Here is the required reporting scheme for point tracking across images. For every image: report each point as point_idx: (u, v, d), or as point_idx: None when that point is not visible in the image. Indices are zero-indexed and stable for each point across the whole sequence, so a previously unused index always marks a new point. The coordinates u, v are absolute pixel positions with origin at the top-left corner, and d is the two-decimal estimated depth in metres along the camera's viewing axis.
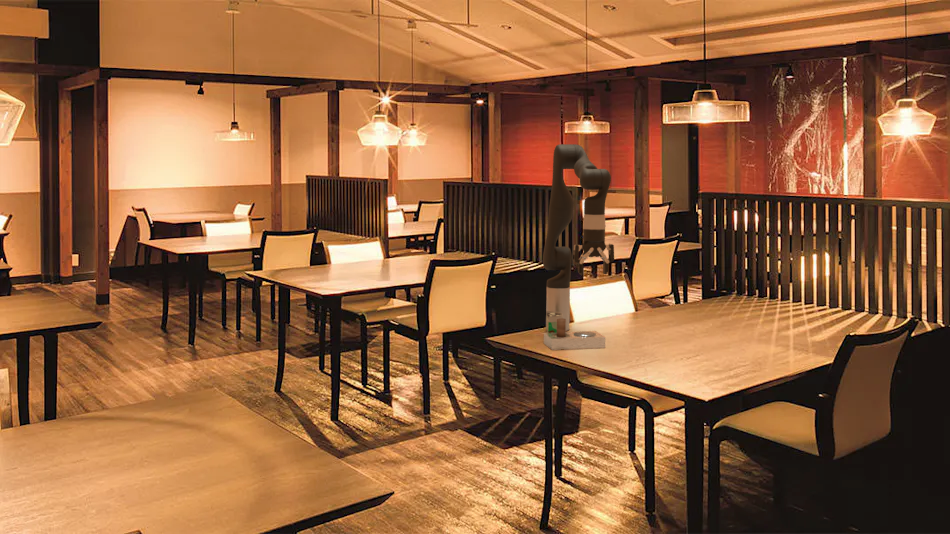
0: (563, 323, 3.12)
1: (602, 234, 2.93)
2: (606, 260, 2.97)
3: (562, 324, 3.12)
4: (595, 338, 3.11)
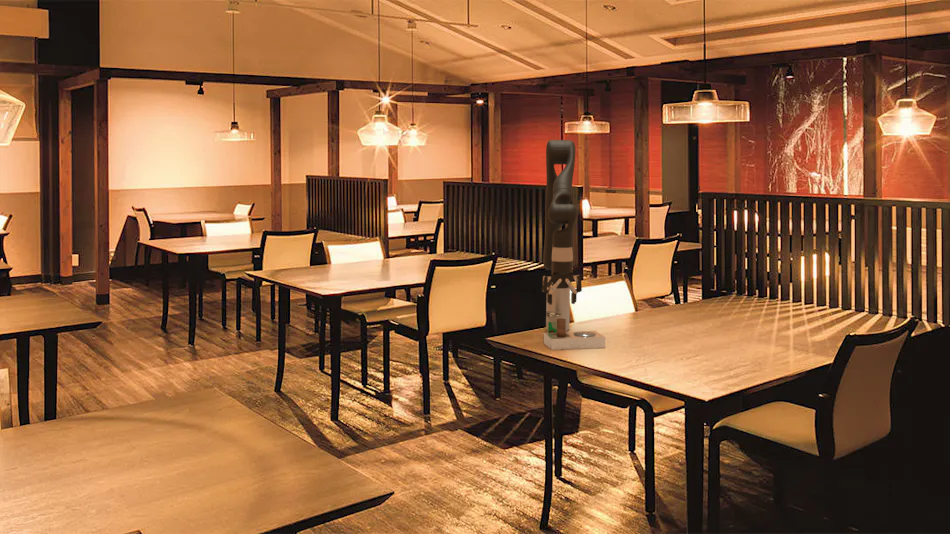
0: (563, 323, 3.12)
1: (570, 266, 3.08)
2: (574, 290, 3.12)
3: (562, 324, 3.12)
4: (595, 338, 3.11)
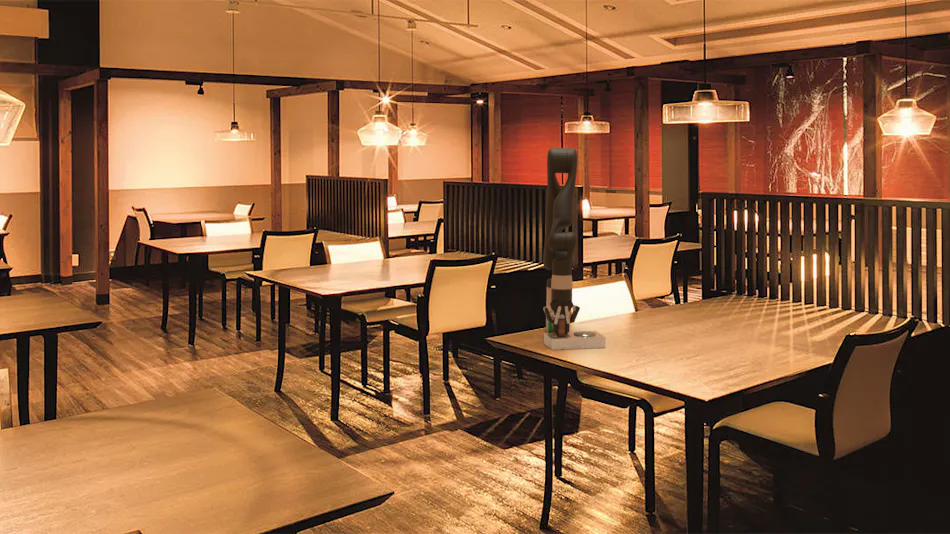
0: (563, 323, 3.12)
1: (569, 293, 3.10)
2: (567, 321, 3.13)
3: (562, 324, 3.12)
4: (595, 338, 3.11)
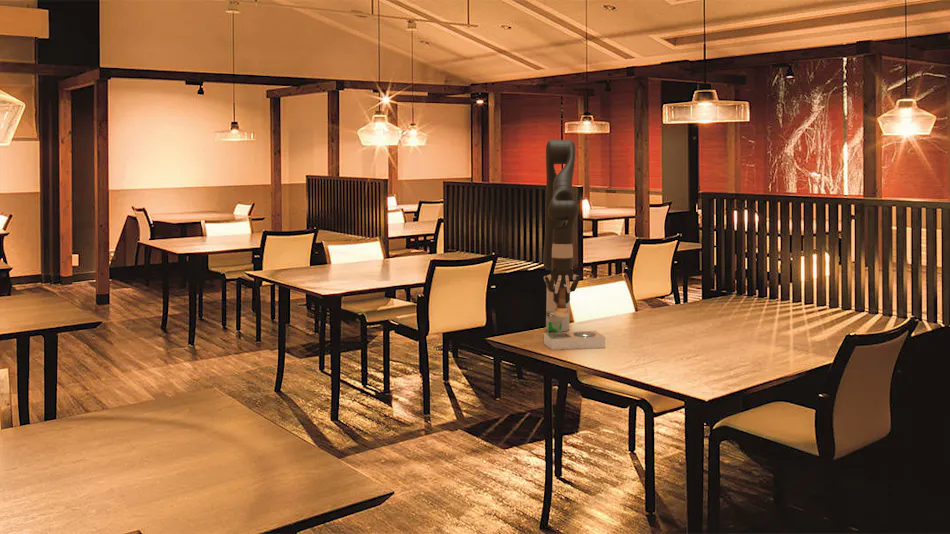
0: (563, 292, 3.11)
1: (570, 262, 3.08)
2: (567, 290, 3.11)
3: (562, 293, 3.11)
4: (595, 338, 3.11)
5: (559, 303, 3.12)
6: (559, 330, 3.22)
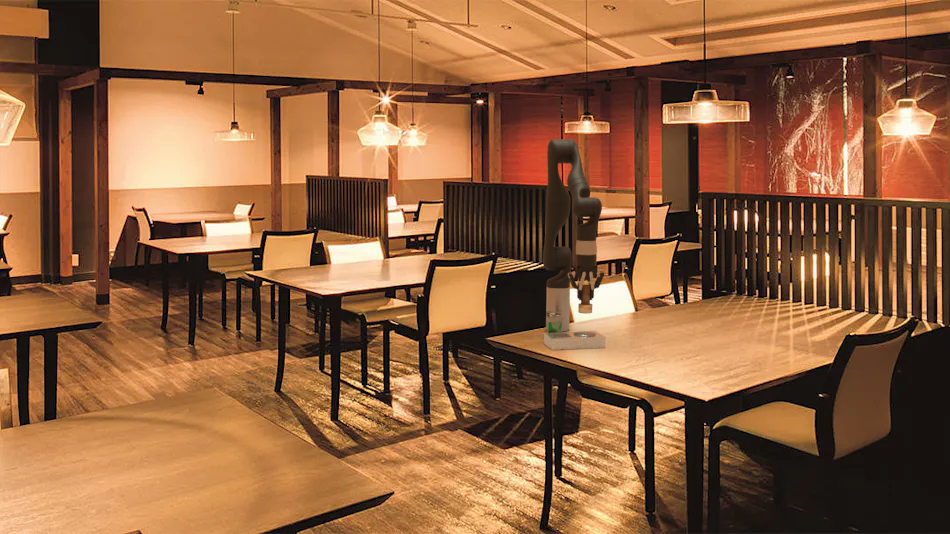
0: (588, 289, 3.12)
1: (594, 259, 3.10)
2: (591, 287, 3.13)
3: (587, 290, 3.12)
4: (595, 338, 3.11)
5: (583, 300, 3.13)
6: (559, 330, 3.22)
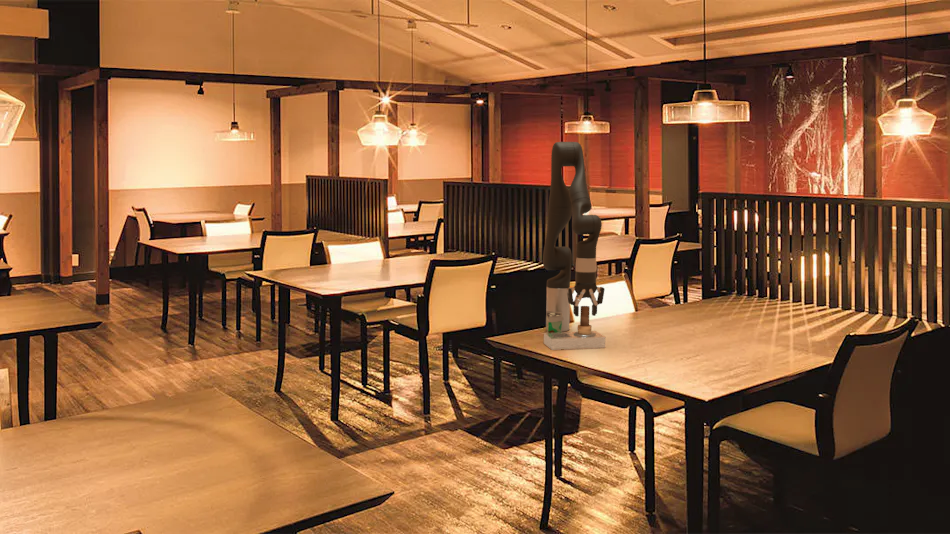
0: (587, 310, 3.13)
1: (594, 276, 3.10)
2: (595, 302, 3.14)
3: (586, 311, 3.13)
4: (595, 338, 3.11)
5: (582, 321, 3.14)
6: (559, 330, 3.22)
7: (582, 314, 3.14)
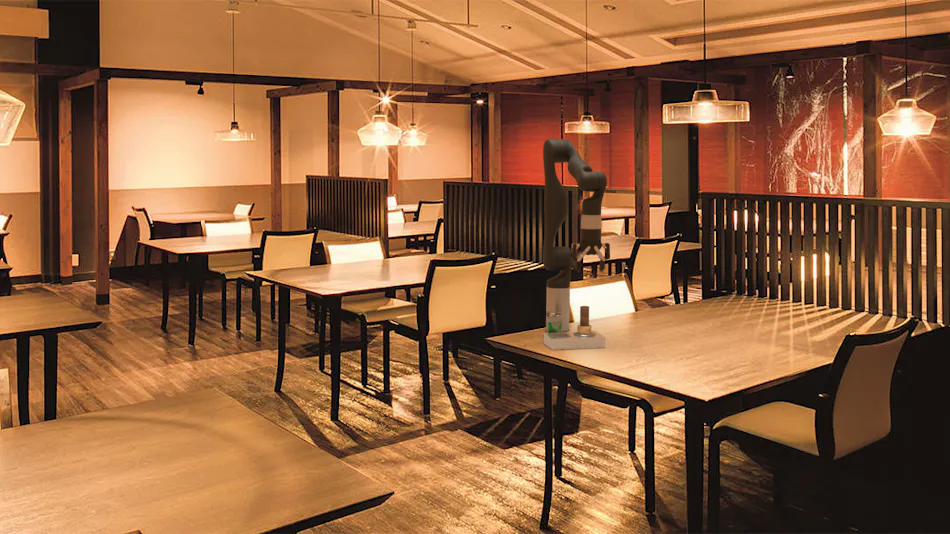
0: (587, 310, 3.13)
1: (599, 233, 3.10)
2: (602, 258, 3.14)
3: (586, 311, 3.13)
4: (595, 338, 3.11)
5: (582, 321, 3.14)
6: (559, 330, 3.22)
7: (582, 314, 3.14)
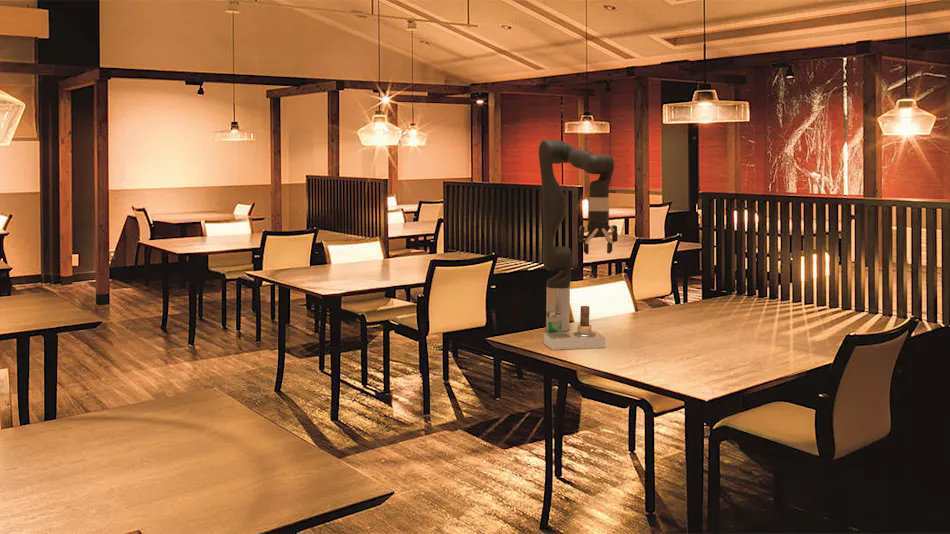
0: (587, 310, 3.13)
1: (606, 215, 3.14)
2: (610, 240, 3.17)
3: (586, 311, 3.13)
4: (595, 338, 3.11)
5: (582, 321, 3.14)
6: (559, 330, 3.22)
7: (582, 314, 3.14)
